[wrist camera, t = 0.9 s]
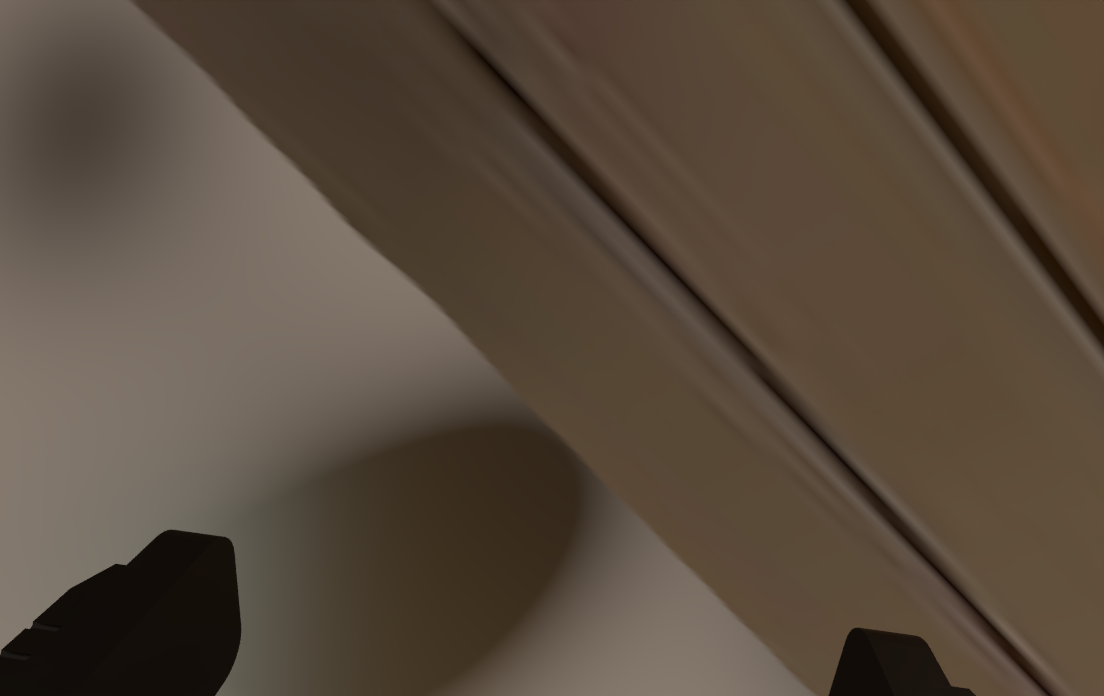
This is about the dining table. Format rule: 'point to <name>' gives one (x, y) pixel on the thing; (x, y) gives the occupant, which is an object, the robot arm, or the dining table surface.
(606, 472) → the dining table surface
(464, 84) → the dining table surface
